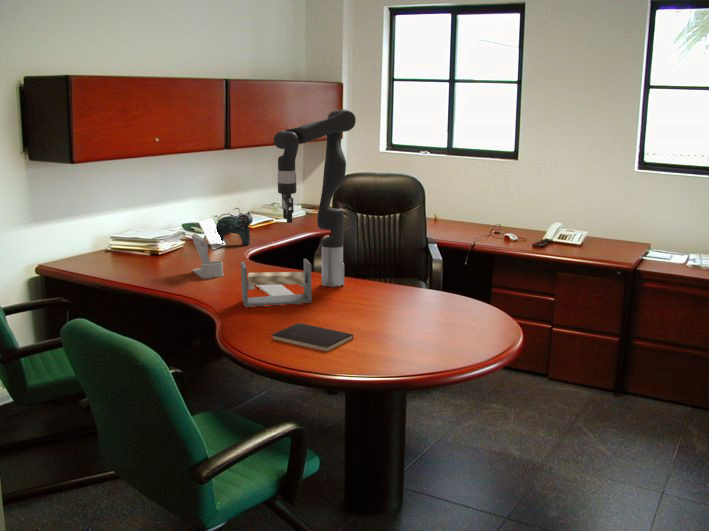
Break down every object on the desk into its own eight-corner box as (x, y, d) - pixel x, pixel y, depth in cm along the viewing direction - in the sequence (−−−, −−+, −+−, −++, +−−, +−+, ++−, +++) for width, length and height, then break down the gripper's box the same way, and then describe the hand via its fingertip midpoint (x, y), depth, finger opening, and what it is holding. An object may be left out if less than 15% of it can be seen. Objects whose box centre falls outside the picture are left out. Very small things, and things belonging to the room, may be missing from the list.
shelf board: (304, 280, 310) (304, 271, 309) (304, 284, 304) (304, 275, 303) (248, 281, 308) (248, 272, 307) (248, 285, 302) (248, 276, 302)
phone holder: (225, 276, 348) (223, 237, 343) (203, 279, 343) (201, 239, 339) (212, 268, 362) (211, 230, 358) (191, 270, 358) (189, 232, 353)
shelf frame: (306, 296, 316) (306, 258, 312) (311, 303, 306) (311, 264, 303) (242, 300, 310) (240, 262, 306) (244, 307, 300) (243, 267, 296)
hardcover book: (326, 353, 252) (326, 346, 252) (271, 340, 265) (271, 334, 264) (353, 340, 266) (353, 333, 265) (299, 328, 278) (299, 322, 277)
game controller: (253, 244, 415) (252, 207, 411) (249, 246, 409) (248, 209, 404) (218, 242, 419) (217, 206, 414) (214, 245, 413) (212, 208, 408)
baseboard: (266, 301, 312) (294, 297, 317) (266, 294, 311) (294, 291, 316) (244, 282, 339) (270, 280, 344) (244, 276, 338) (270, 273, 343)
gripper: (275, 179, 319) (276, 218, 323) (280, 184, 305) (281, 224, 309) (293, 178, 321) (293, 217, 324) (299, 183, 307) (300, 223, 311)
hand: (287, 220), depth 317 cm, fingers open, 8 cm apart
